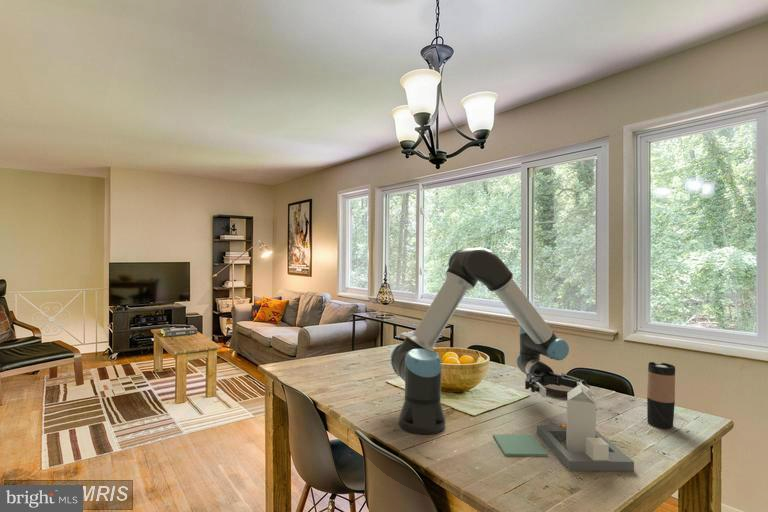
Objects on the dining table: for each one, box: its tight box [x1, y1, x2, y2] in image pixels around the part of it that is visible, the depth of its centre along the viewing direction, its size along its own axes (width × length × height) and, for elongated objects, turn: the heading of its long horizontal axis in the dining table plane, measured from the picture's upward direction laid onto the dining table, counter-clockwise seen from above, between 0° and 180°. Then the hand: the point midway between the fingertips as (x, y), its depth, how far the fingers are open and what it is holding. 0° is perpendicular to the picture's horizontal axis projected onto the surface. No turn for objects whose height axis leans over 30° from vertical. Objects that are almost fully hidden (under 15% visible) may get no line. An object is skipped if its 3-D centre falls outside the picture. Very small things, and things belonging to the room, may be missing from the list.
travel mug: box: [646, 361, 676, 430], centre depth 137 cm, size 8×8×20 cm
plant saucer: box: [543, 381, 591, 398], centre depth 170 cm, size 21×21×3 cm
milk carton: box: [565, 381, 597, 452], centre depth 118 cm, size 7×7×19 cm
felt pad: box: [492, 433, 549, 457], centre depth 120 cm, size 12×12×1 cm
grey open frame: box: [536, 423, 635, 472], centre depth 118 cm, size 17×22×7 cm
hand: (566, 393), depth 128 cm, fingers open, 13 cm apart
